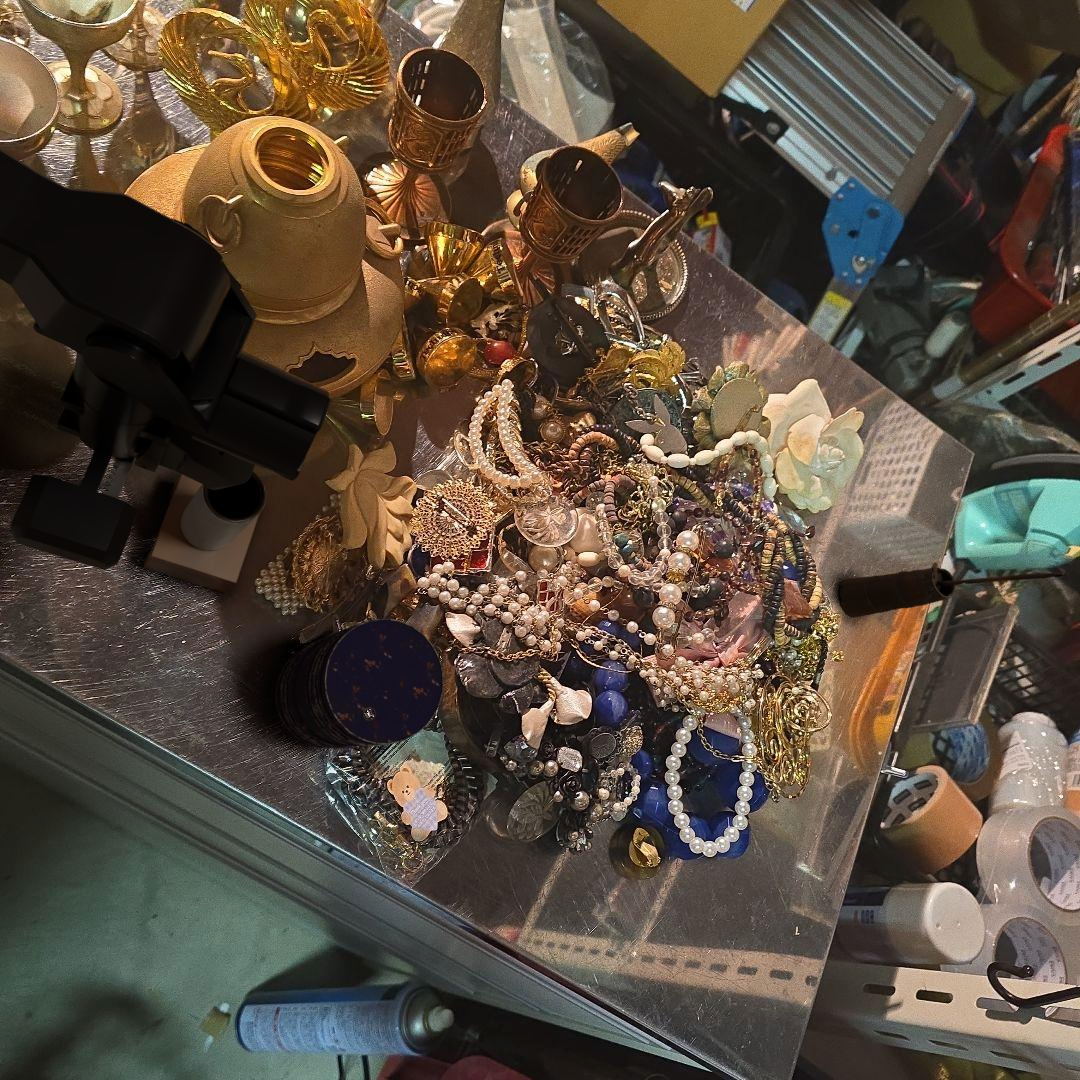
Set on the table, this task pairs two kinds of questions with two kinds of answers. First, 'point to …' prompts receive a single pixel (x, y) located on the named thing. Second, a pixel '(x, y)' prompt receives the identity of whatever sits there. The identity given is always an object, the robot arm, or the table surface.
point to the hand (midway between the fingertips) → (106, 457)
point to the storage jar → (361, 686)
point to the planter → (222, 513)
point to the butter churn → (908, 589)
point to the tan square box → (189, 561)
